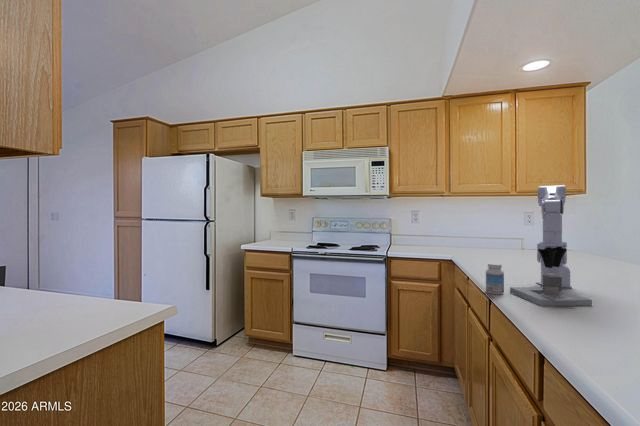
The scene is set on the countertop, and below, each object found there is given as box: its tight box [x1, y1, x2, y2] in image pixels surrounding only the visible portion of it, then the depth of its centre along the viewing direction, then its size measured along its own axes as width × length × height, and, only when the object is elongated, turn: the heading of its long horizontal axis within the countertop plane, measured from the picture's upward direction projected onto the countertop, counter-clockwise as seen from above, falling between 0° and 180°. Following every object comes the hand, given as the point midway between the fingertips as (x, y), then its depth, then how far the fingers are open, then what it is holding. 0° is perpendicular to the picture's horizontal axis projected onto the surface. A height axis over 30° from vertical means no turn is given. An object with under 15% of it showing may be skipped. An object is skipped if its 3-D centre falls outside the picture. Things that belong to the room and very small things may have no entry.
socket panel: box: [509, 286, 593, 307], centre depth 106 cm, size 17×16×2 cm
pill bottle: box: [485, 262, 505, 295], centre depth 114 cm, size 6×6×11 cm
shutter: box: [541, 285, 575, 301], centre depth 100 cm, size 6×6×3 cm
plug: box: [542, 273, 563, 291], centre depth 111 cm, size 4×4×6 cm
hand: (552, 267), depth 110 cm, fingers open, 4 cm apart
